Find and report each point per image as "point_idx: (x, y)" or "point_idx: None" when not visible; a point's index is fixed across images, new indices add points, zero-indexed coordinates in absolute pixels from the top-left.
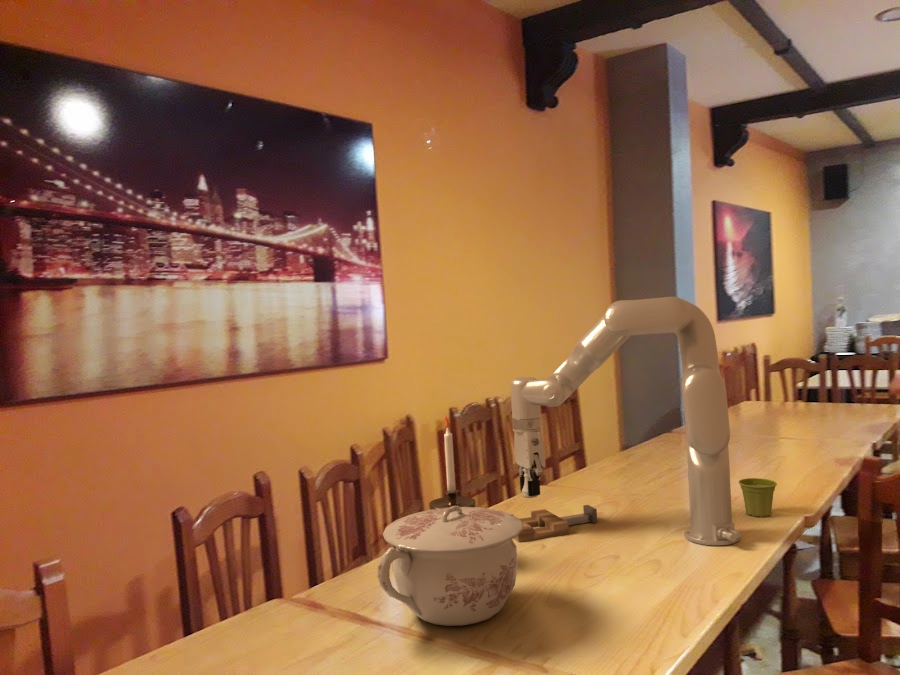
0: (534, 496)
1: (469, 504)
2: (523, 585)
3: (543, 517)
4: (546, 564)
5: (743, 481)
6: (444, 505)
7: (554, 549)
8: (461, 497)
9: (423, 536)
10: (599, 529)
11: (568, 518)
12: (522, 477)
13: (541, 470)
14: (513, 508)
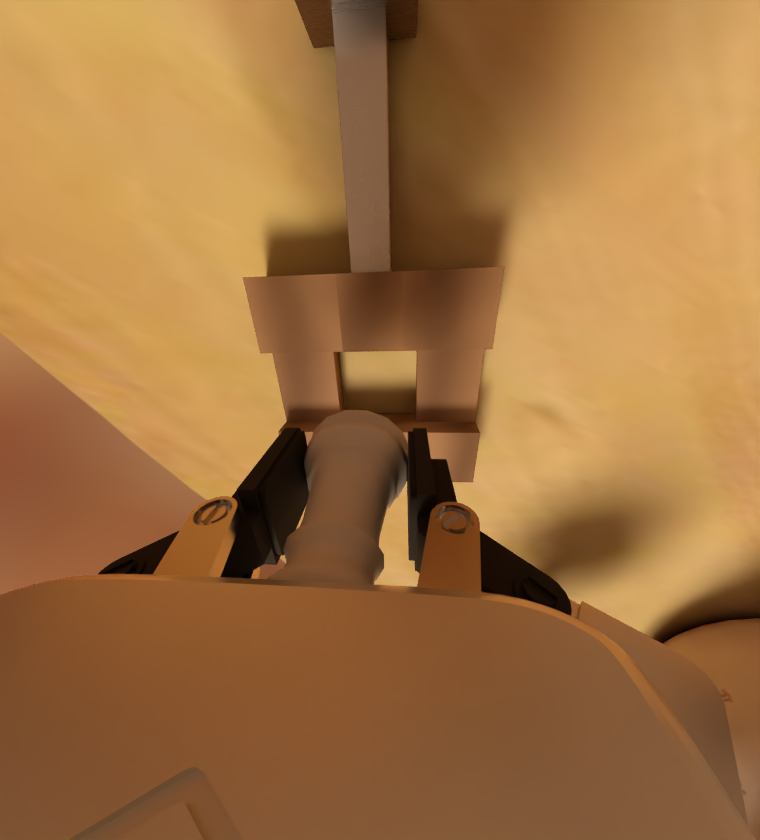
0: (407, 448)
1: None
2: (740, 552)
3: (371, 342)
4: (683, 466)
5: None
6: None
7: (597, 396)
8: None
9: None
10: (523, 55)
11: (387, 202)
12: (277, 550)
13: (713, 699)
14: (85, 334)
